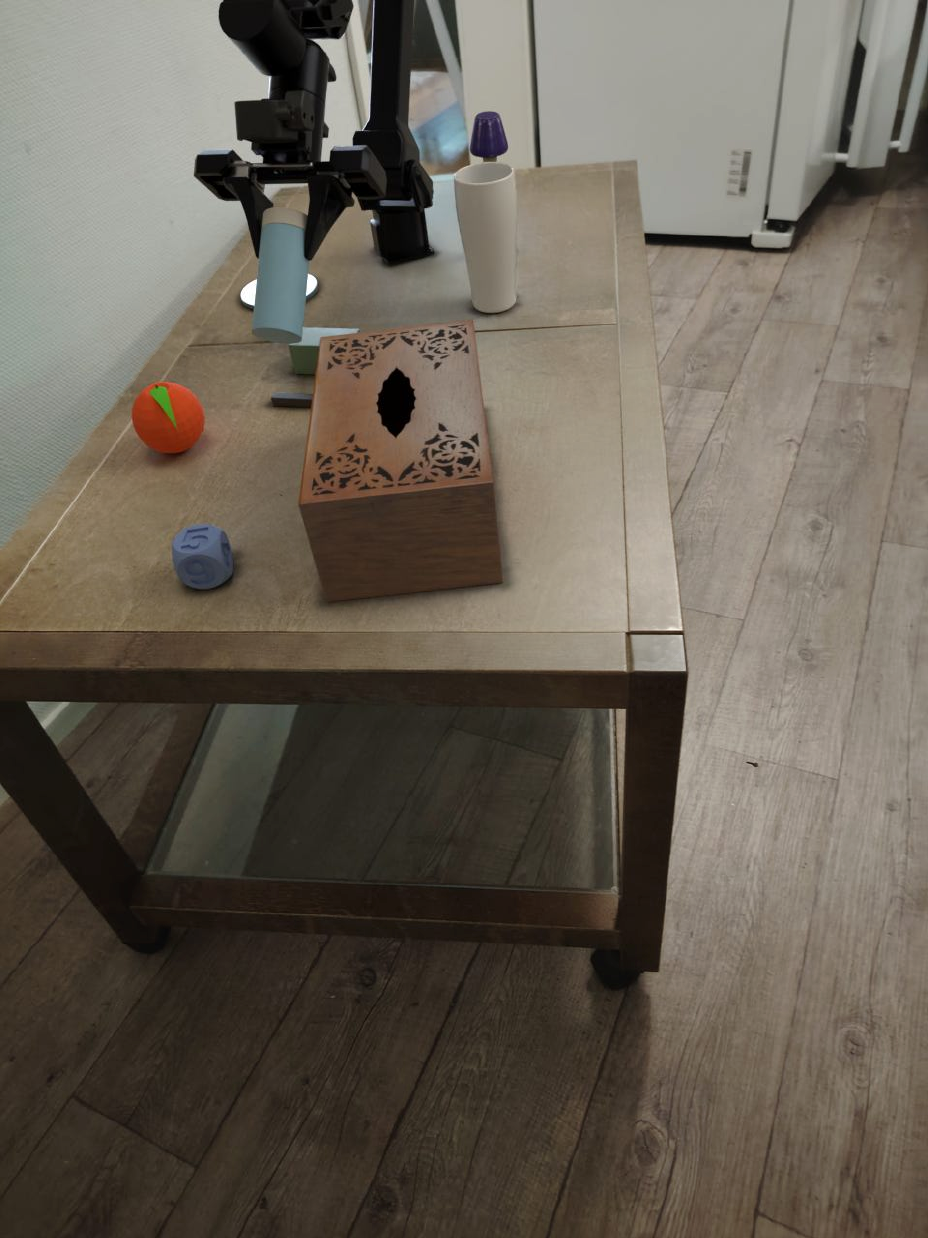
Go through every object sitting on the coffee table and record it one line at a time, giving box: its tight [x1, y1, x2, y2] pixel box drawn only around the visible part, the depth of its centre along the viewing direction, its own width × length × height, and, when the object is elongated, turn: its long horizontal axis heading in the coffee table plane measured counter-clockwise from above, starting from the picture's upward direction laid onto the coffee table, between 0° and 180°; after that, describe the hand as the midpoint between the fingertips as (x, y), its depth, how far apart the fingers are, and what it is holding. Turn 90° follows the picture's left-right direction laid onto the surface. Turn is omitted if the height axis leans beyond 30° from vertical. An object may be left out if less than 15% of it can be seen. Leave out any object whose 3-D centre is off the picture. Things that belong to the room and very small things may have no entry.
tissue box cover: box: [297, 318, 504, 603], centre depth 78 cm, size 26×14×10 cm, turn 3°
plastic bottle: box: [251, 206, 310, 345], centre depth 90 cm, size 12×5×12 cm, turn 167°
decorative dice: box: [171, 523, 234, 590], centre depth 75 cm, size 4×4×4 cm
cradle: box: [270, 326, 361, 408], centre depth 97 cm, size 11×7×4 cm, turn 166°
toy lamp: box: [469, 110, 509, 163], centre depth 111 cm, size 5×5×17 cm
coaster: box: [239, 273, 319, 311], centre depth 115 cm, size 10×10×1 cm
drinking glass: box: [453, 161, 518, 314], centre depth 102 cm, size 7×7×15 cm
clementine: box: [131, 381, 206, 454], centre depth 89 cm, size 8×7×7 cm
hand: (283, 258), depth 90 cm, fingers closed on plastic bottle, 5 cm apart
